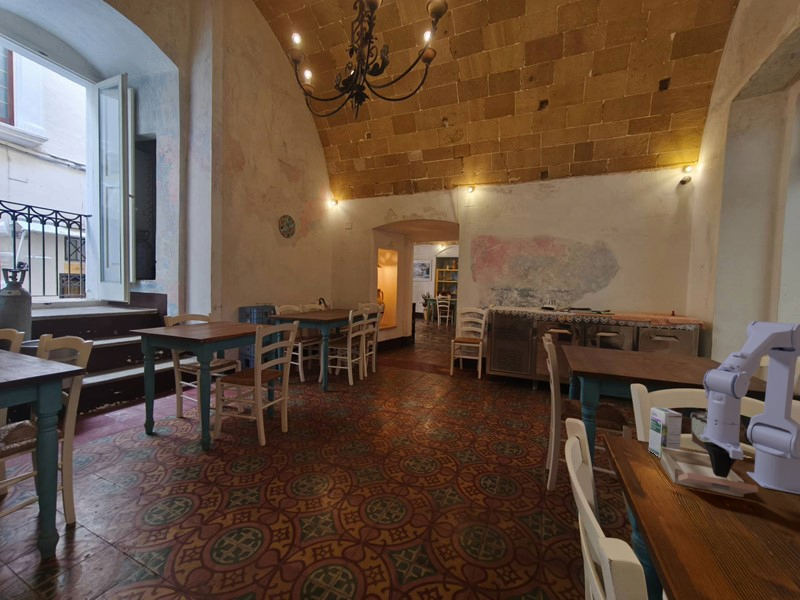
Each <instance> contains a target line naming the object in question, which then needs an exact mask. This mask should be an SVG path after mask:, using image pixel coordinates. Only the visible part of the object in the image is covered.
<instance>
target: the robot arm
mask: <svg viewBox="0 0 800 600" xmlns="http://www.w3.org/2000/svg"><path fill="white" fill-rule="evenodd" d="M746 338H747V340H746V342H745V343H744V344H743V347H742V348H741V350H740V351H733V352H731V353H730V354H729V355H728V356H727V358H725V360H723V362H722V363H721V364H720V365H719V366H718V367H717V368H713V369H709V370H707V371H706V373H705V374H704V377H703V380H702V385H703V388H704V390H705V393H704V394H705V398H706V399H707V414H706V415H707V427H704V434H700V437H701V438H702V439H705V440H709V441H711V442H704V445H705V447H706V449H707V451H708V452H707V451H706V452H707V453H708V455H709V456H710V460H711V465H712V469H713V473H714V474H715V475H716V476H719V477H724V478H727V476H728V474H729V472H730V470H732V468H733V465H734V464H735V463H736V461H737V460H740V461H744V451H743V450H742V447H741V442H740V427H741V412H742V411H741V409H742V408H741V407H742V398H744V397H745V396H746V395H747V392H748V390H749V386H750V385H751V381H750V380H751V378H752V377H753V376H754V375H755V373H757V371H758V370H759V368H761V364H760V361H759V360H761V358H762V357H764V356H765V355H768V358H769V360H768V367H767V368H768V369H767V379H766V389H765V397H764V407H763V412H762V413H760V414H755V415H753V416H752V417H751V418H750V421H749V424H748V426H747V430H746V436H747V439H748V441H749V442H750V443H751V444H752V447H753V448H755V451H754V452H755V453H754V454H755V455H754V469H753V471H754V472H751V471H746V474H747V475H748V476H749V477H750V478H751V479H752V480H754V481H755V482H756V483H757V484H758V485H759V486H760V487H762V488H763V489H764V488H765V489H770V490H775V491H780V492H781V491H782V492H787V493H790V494H791V493H792V494H797V495H800V423H798V422H797V421H796V420H794V419H793V418H792V408H793V399H794V387H795V378H796V367H797V366H796V365H797V362H798V357H800V323H784V322H783V323H782V322H770V321H759V320H753V321H751V322H750V323H749V324H748V325H747V327H746Z"/></svg>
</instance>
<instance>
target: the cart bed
mask: <svg viewBox="0 0 800 600" xmlns="http://www.w3.org/2000/svg"><path fill="white" fill-rule="evenodd" d="M660 465H661V466H662V468H663V469H664V470H665V472H666V474H667V475H668V476H669V478H670V479H671V480H672V482H673V483H674V484H675V485H681V486H685V487H690V488H695V489H699V490H705V491H710V492H716V493H719V494H725V495H730V496H735V497H740V498H744V496H745V494H742V493H737V492H732V491H727V490H722V489H717V488H712V487H707V486H702V485H697V484H692V483H687V482H682V481H679V479H678V476H679V475H682V474H685V473H693V474H698V475H703V476H708V477H714V478H719V479H724V480H729V481H735V482H740V483H745V481H744V480H743V479H742V478H741V477H740V476H739V475H738V474H737V473H736V472H735V471H733V470H732V469H731V470H730V472H729V474H728V476H727V478H724V477H719V476H716V475H715V474H714V473H713V469H712V465H711V460H710V456H709V453H708V454H707V453H701V452H694V451H689V450H683V449H680V450H678V449H673V448H667V447H661V459H660Z"/></svg>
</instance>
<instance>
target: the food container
mask: <svg viewBox="0 0 800 600" xmlns="http://www.w3.org/2000/svg"><path fill="white" fill-rule="evenodd" d="M690 419H691V443H693V444H694V445H696V446H697V447H699V448H701V449H702V450H704V451H706V452H707V453H708V451H707V449H706V447H705V445H704V442H711V441H709V440H705V439H702V438H701V437H700V434H704V427H707V414H705V413H701V412H700V413H699V412H692V411H691V413H690Z"/></svg>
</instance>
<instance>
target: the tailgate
mask: <svg viewBox="0 0 800 600" xmlns="http://www.w3.org/2000/svg"><path fill="white" fill-rule="evenodd" d="M678 479H679V481H682V482H687V483H692V484H697V485H702V486H707V487H712V488H717V489H722V490H727V491H732V492H737V493H742V494H744V495H746V494H752V493H757V492H759V488H758V485H755V484H749V483H745V482H744V483H740V482H735V481H729V480H724V479H719V478H714V477H708V476H703V475H698V474H693V473H685V474H682V475H679V476H678Z"/></svg>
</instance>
